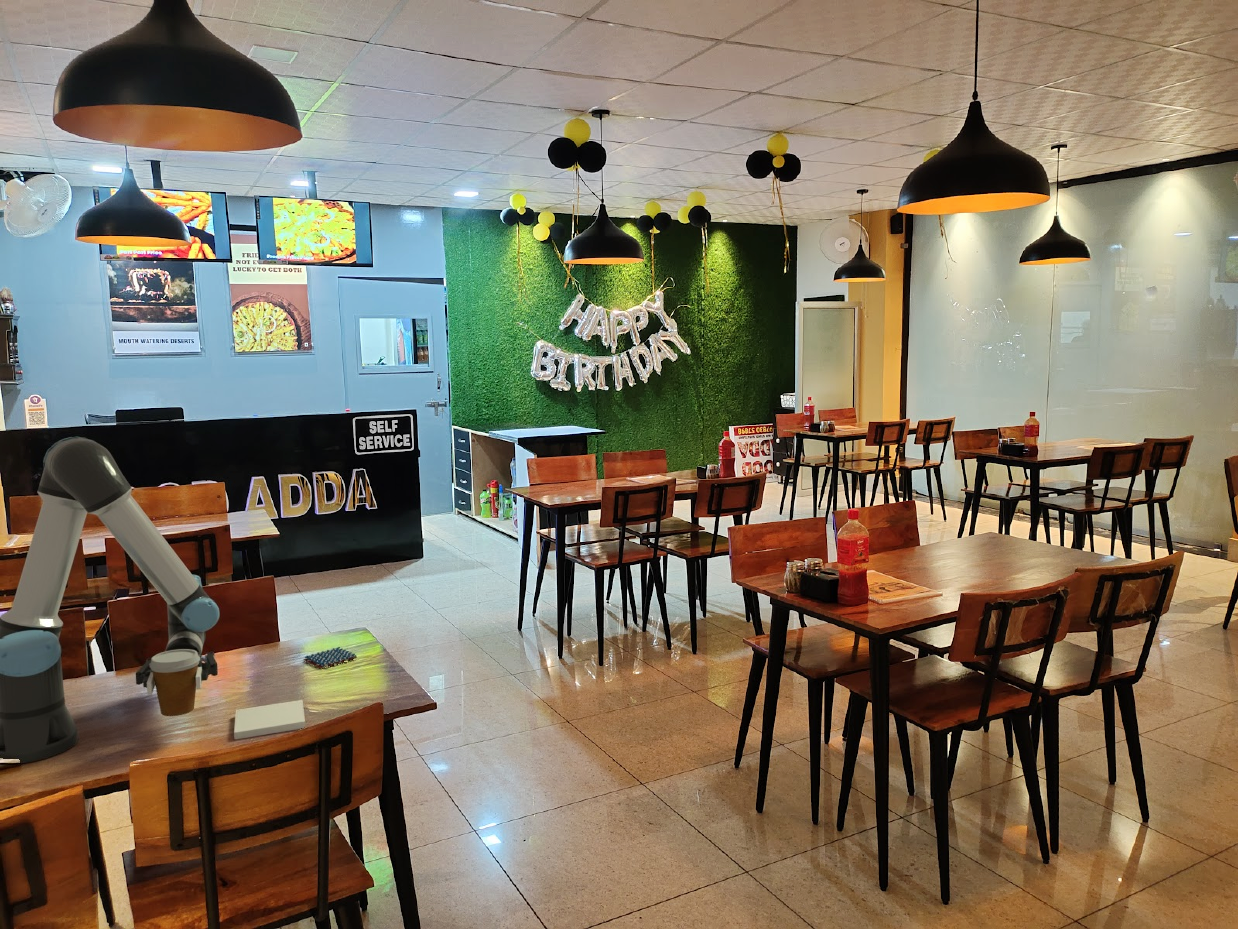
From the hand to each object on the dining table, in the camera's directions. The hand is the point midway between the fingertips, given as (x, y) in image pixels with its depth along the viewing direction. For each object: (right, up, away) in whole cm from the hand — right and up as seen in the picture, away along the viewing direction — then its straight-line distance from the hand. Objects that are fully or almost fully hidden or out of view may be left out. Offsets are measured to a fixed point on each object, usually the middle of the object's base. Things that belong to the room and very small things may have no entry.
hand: (173, 686), depth 177 cm
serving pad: (+15, -11, +12) cm, 22 cm away
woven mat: (+15, -7, +51) cm, 54 cm away
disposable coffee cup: (-2, -7, +5) cm, 9 cm away
